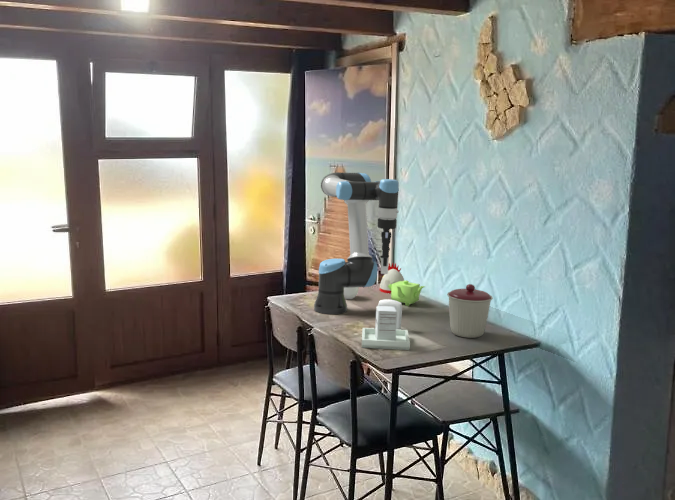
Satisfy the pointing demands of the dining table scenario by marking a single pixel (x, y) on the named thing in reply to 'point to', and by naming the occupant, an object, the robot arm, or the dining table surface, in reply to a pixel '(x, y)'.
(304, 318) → the dining table surface
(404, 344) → the tray
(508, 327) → the dining table surface
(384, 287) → the kitchen timer
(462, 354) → the dining table surface
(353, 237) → the robot arm
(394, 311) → the supplement box
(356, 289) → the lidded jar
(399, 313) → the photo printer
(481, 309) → the canister
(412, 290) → the kettle
